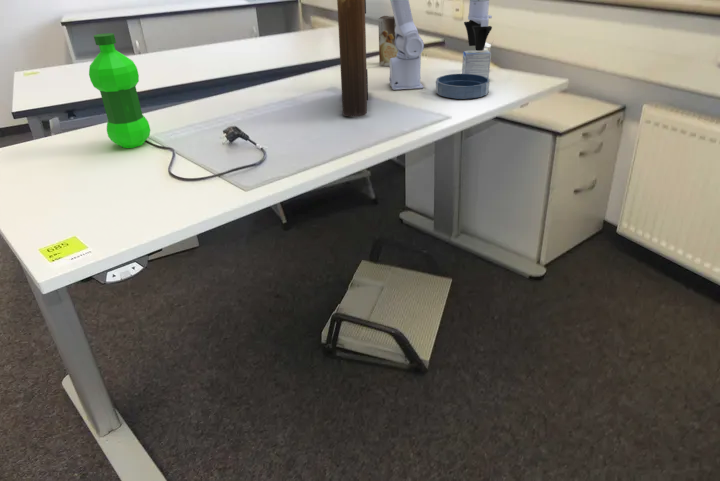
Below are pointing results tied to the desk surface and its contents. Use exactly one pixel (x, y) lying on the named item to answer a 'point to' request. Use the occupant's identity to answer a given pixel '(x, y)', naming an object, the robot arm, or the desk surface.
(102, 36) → the plastic bottle
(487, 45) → the milkshake
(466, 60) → the medicine box
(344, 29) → the dark brown tall slab
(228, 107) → the desk surface
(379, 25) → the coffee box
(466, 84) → the bowl
